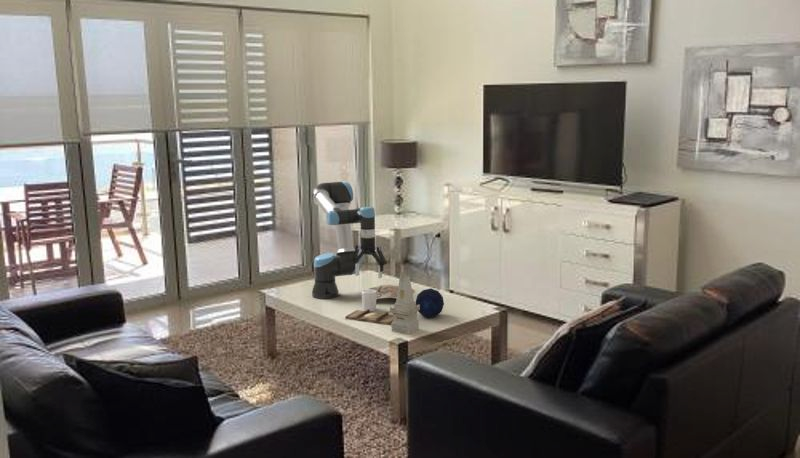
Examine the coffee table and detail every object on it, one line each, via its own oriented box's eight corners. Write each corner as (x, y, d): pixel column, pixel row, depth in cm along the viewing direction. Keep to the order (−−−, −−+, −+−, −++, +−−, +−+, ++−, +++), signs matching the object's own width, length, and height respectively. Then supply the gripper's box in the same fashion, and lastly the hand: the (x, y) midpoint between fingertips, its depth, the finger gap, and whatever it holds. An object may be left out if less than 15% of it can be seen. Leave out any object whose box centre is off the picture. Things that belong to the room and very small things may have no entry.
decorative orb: (454, 307, 353) (441, 281, 358) (434, 313, 343) (420, 286, 347) (438, 318, 363) (425, 293, 367) (417, 325, 353) (405, 299, 357)
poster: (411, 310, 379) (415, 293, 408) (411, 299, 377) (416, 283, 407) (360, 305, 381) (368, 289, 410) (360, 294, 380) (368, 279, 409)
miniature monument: (390, 331, 333) (389, 270, 328) (401, 325, 342) (400, 265, 337) (409, 334, 328) (408, 273, 323) (420, 328, 337) (419, 268, 332)
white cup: (379, 309, 370) (379, 290, 368) (369, 312, 364) (369, 294, 362) (369, 306, 375) (368, 288, 373) (358, 309, 369) (358, 291, 367)
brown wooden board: (345, 318, 354) (345, 314, 354) (357, 312, 365) (357, 307, 364) (389, 324, 343) (389, 320, 343) (400, 318, 354) (400, 313, 353)
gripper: (343, 236, 364) (344, 275, 368) (386, 239, 354) (386, 280, 357) (350, 234, 371) (351, 272, 375) (392, 237, 360) (393, 277, 364)
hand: (368, 276), depth 366 cm, fingers open, 13 cm apart
